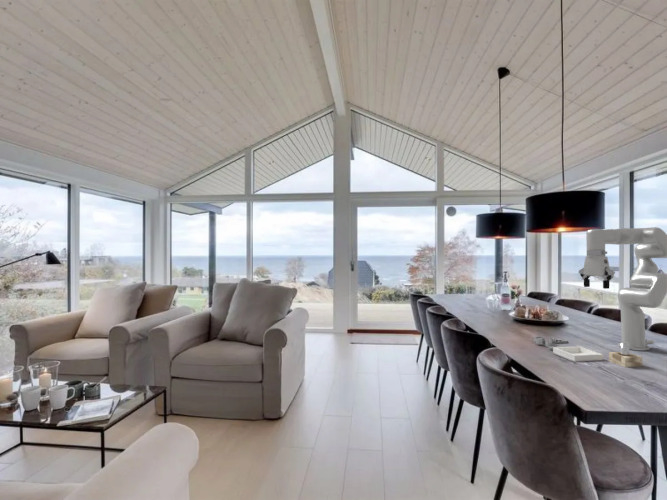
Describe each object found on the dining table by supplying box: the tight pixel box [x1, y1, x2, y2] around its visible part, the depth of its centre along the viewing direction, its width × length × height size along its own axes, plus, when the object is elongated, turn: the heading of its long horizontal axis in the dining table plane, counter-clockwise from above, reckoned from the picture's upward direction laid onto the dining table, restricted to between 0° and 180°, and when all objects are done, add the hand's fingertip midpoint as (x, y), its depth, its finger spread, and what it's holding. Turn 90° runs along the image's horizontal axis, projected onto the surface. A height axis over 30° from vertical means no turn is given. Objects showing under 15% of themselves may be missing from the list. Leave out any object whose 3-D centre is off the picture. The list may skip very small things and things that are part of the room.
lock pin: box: [619, 342, 630, 356], centre depth 153 cm, size 3×3×9 cm
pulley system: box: [533, 336, 569, 352], centre depth 190 cm, size 27×5×15 cm
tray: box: [552, 345, 604, 364], centre depth 165 cm, size 14×14×4 cm
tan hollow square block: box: [608, 351, 643, 368], centre depth 153 cm, size 8×8×5 cm
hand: (596, 287), depth 172 cm, fingers open, 9 cm apart
